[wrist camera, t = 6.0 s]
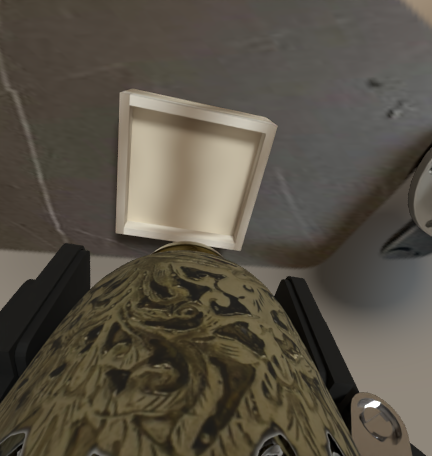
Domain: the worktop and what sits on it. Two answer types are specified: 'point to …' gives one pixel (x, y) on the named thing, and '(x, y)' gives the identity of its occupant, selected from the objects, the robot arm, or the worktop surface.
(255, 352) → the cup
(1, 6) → the worktop surface
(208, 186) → the birch tray
